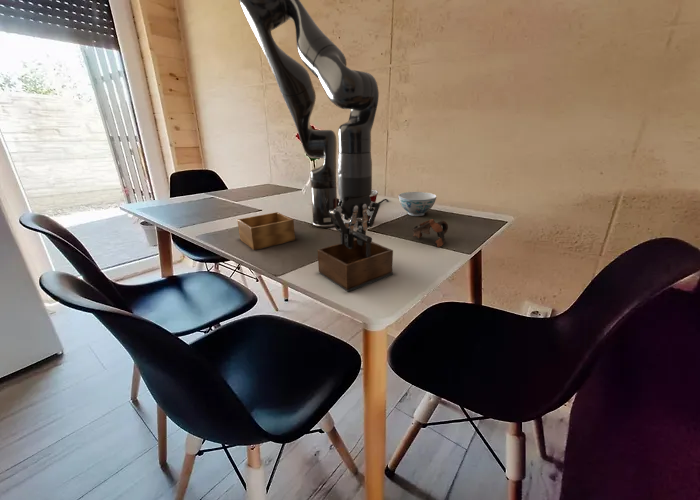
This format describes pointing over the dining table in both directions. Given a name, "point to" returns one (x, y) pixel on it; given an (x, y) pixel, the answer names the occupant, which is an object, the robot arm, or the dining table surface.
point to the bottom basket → (266, 230)
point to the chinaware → (417, 202)
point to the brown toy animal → (435, 226)
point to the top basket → (355, 261)
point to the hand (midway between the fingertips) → (355, 246)
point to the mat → (361, 284)
